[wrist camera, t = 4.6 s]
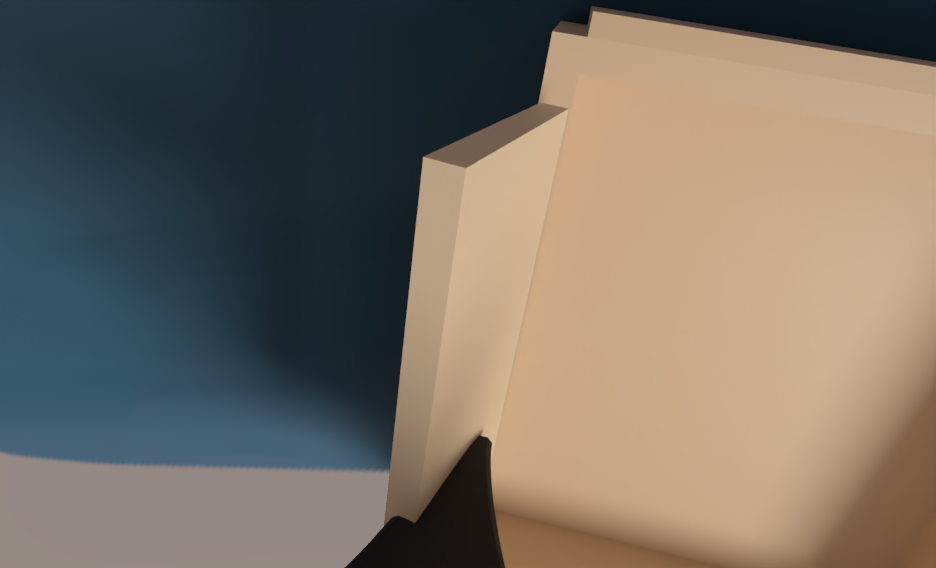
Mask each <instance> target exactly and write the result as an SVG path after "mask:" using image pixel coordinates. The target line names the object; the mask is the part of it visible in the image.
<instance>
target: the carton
mask: <svg viewBox="0 0 936 568" xmlns="http://www.w3.org/2000/svg"><path fill="white" fill-rule="evenodd" d="M539 103H545V104H550V105H554V106H559V107H563V108H568V109H569V110H568V115H567V119H566V124H565V128H564V133H563V137H562V142H561V147H560V151H559V156H558V160H557V165H556V169H555V174H554V178H553V183H552V188H551V192H550V197H549V201H548V206H547V210H546V215H545V219H544V224H543V229H542V233H541V238H540V242H539V247H538V251H537V256H536V261H535V265H534V270H533V274H532V279H531V283H530V288H529V292H528V297H527V302H526V306H525V311H524V315H523V320H522V324H521V329H520V333H519V338H518V343H517V347H516V352H515V356H514V361H513V365H512V370H511V374H510V379H509V384H508V388H507V393H506V397H505V402H504V406H503V411H502V416H501V420H500V425H499V429H498V434H497V438H496V443H495V447H494V452H493V457H492V461H491V481H492V493H493V502H494V509H495V516H496V522H497V528H498V534H499V540H500V545H501V550H502V555H503V559H504V564H505V568H936V62H933V61H926V60H920V59H914V58H908V57H902V56H896V55H890V54H884V53H877V52H871V51H865V50H859V49H853V48H847V47H841V46H834V45H828V44H822V43H816V42H810V41H804V40H798V39H792V38H785V37H779V36H773V35H767V34H761V33H755V32H749V31H742V30H736V29H730V28H724V27H718V26H712V25H706V24H700V23H693V22H687V21H681V20H675V19H669V18H663V17H657V16H650V15H644V14H638V13H632V12H626V11H620V10H614V9H608V8H601V7H595V6H591V11H590V15H589V20H588V24H587V25H585V24H579V23H573V22H567V21H561V22H560V23H559V24H558V25H557V26H556V27H555V29H554V30H553V31H552V35H551V41H550V46H549V51H548V56H547V61H546V66H545V71H544V77H543V82H542V87H541V92H540V97H539V102H538V104H539Z"/></svg>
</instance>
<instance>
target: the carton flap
mask: <svg viewBox="0 0 936 568" xmlns="http://www.w3.org/2000/svg"><path fill="white" fill-rule="evenodd" d="M568 110H569V109H568V108H563V107H559V106H554V105H550V104H545V103H539V104H536V105H534V106H532V107H530V108H528V109H526V110H523V111H521V112H519V113H517V114H515V115H513V116H510V117H508V118H506V119H504V120H502V121H500V122H497V123H495V124H493V125H491V126H489V127H487V128H484V129H482V130H480V131H478V132H476V133H474V134H471V135H469V136H467V137H465V138H463V139H461V140H458V141H456V142H454V143H452V144H450V145H448V146H445V147H443V148H441V149H439V150H437V151H435V152H433V153H430V154H428V155H426V156H424V157H423V163H422V173H421V182H420V191H419V201H418V210H417V220H416V229H415V239H414V248H413V258H412V267H411V277H410V286H409V295H408V305H407V314H406V324H405V333H404V343H403V352H402V362H401V371H400V380H399V390H398V399H397V409H396V418H395V428H394V437H393V447H392V456H391V465H390V475H389V484H388V485H389V486H388V495H387V503H386V513H385V522H384V526H385V525H386V523H387V522H388V521H389V520H390V519H391V518H392V517H395V516H398V515H399V516H401V517H403V518H405V519H408V520H410V521H412V522H414V523H416V521H417V520H418V518H419V517H420V515H421V514H422V513H423V511H424V510H425V508H426V507H427V505H428V504H429V502H430V501H431V500H432V498H433V497H434V495H435V494H436V492H437V491H438V489H439V488H440V487H441V485H442V484H443V482H444V481H445V479H446V478H447V477H448V475H449V474H450V472H451V471H452V470H453V468H454V467H455V465H456V464H457V463H458V461H459V460H460V458H461V457H462V456H463V454H464V453H465V452H466V451H467V449H468V448H469V447H470V445H471V444H472V443H473V442H474V441H475V439H476V438H477V437H478V436H479V435H480V436H484V437H488V438H489V440H490V441H491V442H492V448H491V461H492V457H493V452H494V447H495V443H496V438H497V434H498V429H499V425H500V420H501V416H502V411H503V406H504V402H505V397H506V393H507V388H508V384H509V379H510V374H511V370H512V365H513V361H514V356H515V352H516V347H517V343H518V338H519V333H520V329H521V324H522V320H523V315H524V311H525V306H526V302H527V297H528V292H529V288H530V283H531V279H532V274H533V270H534V265H535V261H536V256H537V251H538V247H539V242H540V238H541V233H542V229H543V224H544V219H545V215H546V210H547V206H548V201H549V197H550V192H551V188H552V183H553V178H554V174H555V169H556V165H557V160H558V156H559V151H560V147H561V142H562V137H563V133H564V128H565V124H566V119H567V115H568Z"/></svg>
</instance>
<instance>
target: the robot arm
mask: <svg viewBox="0 0 936 568" xmlns="http://www.w3.org/2000/svg"><path fill="white" fill-rule="evenodd" d="M491 448H492V442H491V441H490V440H489V438H488V437H484V436H480V435H479V436H478V437H477V438H476V439H475V441H474V442H473V443H472V444H471V445H470V447H469V448H468V449H467V451H466V452H465V453H464V454H463V456H462V457H461V458H460V460H459V461H458V463H457V464H456V465H455V467H454V468H453V470H452V471H451V472H450V474H449V475H448V477H447V478H446V479H445V481H444V482H443V484H442V485H441V487H440V488H439V489H438V491H437V492H436V494H435V495H434V497H433V498H432V500H431V501H430V502H429V504H428V505H427V507H426V508H425V510H424V511H423V513H422V514H421V515H420V517H419V518H418V520H417V521H416V523H414V522H412V521H410V520H408V519H405V518H403V517H401V516H399V515H398V516H395V517H392V518H391V519H390V520H389V521H388V522H387V523H386V525H385V526H384V527H383V528H382V529H381V530H380V532H379V533H378V534H377V535H376V536H375V537H374V538H373V539H372V541H371V542H370V543H369V544H368V545H367V546H366V547H365V548H364V549H363V550H362V551H361V552H360V553H359V554H358V555H357V556H356V557H355V558H354V559H353V560H352V561H351V562H350V563H349V564H348V565H347V566H346V567H345V568H505V564H504V559H503V555H502V550H501V545H500V540H499V534H498V528H497V522H496V516H495V509H494V502H493V493H492V481H491Z"/></svg>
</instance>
